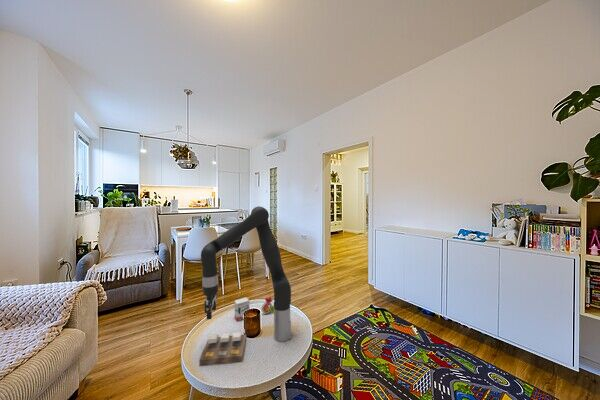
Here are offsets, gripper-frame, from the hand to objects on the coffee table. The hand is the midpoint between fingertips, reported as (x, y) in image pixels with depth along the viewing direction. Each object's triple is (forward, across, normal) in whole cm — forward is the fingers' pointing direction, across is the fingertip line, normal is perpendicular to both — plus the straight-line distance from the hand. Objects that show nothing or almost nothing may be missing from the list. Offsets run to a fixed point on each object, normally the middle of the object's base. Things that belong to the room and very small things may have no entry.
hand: (211, 314), depth 117 cm
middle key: (+14, -1, -7) cm, 15 cm away
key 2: (+14, -1, -13) cm, 18 cm away
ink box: (+19, +27, -11) cm, 35 cm away
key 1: (+14, -1, -1) cm, 14 cm away
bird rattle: (+19, +30, -28) cm, 46 cm away
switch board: (+19, -3, -6) cm, 20 cm away
